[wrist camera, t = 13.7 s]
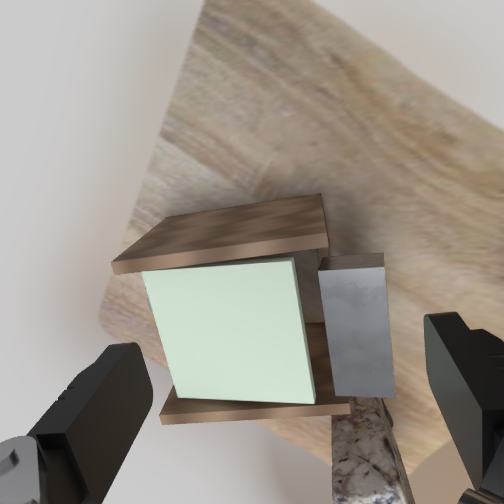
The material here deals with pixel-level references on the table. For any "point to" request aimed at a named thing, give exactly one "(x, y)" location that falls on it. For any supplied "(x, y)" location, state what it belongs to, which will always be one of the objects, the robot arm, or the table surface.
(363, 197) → the table surface
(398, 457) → the stone block
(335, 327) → the trapdoor
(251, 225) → the stand
